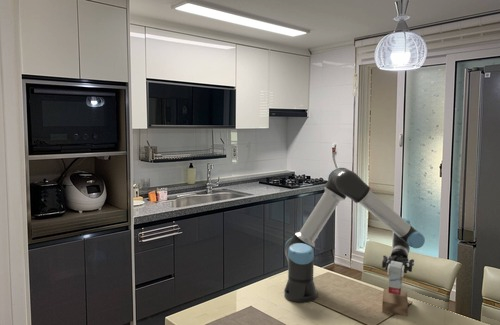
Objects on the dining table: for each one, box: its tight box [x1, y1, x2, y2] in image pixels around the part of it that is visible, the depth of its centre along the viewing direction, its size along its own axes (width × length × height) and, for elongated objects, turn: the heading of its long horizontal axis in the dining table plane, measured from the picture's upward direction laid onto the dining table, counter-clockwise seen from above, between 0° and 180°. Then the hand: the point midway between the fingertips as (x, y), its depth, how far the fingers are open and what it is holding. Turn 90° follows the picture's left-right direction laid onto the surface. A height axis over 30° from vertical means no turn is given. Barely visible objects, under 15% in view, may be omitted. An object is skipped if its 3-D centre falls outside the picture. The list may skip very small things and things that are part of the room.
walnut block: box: [381, 288, 409, 317], centre depth 169 cm, size 10×14×5 cm
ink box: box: [388, 261, 403, 295], centre depth 168 cm, size 9×5×12 cm, turn 154°
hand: (395, 272), depth 163 cm, fingers open, 5 cm apart
